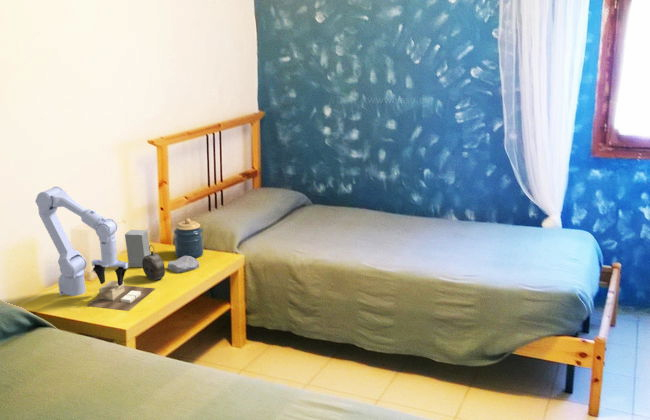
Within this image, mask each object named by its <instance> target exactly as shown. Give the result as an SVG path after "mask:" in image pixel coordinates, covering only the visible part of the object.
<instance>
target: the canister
mask: <svg viewBox="0 0 650 420" xmlns="http://www.w3.org/2000/svg"><path fill="white" fill-rule="evenodd" d="M202 232H203V228H201V224H200V223H198V222H197V221H194V220H191V219H190V218H189V217H188V218H186V219H184V221H183V220H182V221H181V222H178V223H177V224H176V225H175V229H174V230H173V233H174V234H175V235H174V238H173V239H174V249H175V250H174V254H175V257H176V258H177V259H179V258H181V257H183V256H191V257H193V258H195V259H197V258H200V257H202V256H203V255H204V245H203V244H204V242H203V235H202Z"/></svg>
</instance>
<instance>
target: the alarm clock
mask: <svg viewBox="0 0 650 420" xmlns="http://www.w3.org/2000/svg"><path fill="white" fill-rule="evenodd" d="M151 247H152V249H153V250H151V249H150V248H151ZM149 250H150V255H147V256H145V257H144V258H143V261H142V267H141V268H142V270H143V272H144V275H145V276H146V278H148V279H149V280H151V281H157V280H159V281H161V280H162V279H163V277H164V276H165V275H166V274H165V273H166V267H165V263H164V261H163V259H162V257H161V256H160V255H159V254H158V253H155V247H154V245H152V244H149Z"/></svg>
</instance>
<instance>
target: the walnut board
mask: <svg viewBox="0 0 650 420" xmlns="http://www.w3.org/2000/svg"><path fill="white" fill-rule="evenodd" d="M124 290H125V292H124V293H123V294H122V295H121V296H119V297H118V298H117V299H115V300H114V301H106V300H100V295H99V296H98V297H96V298H95V299H93V300H92V301H90V302H88V303H87V305H85V307H92V308H99V309H108V310H118V311H127V312H129V311H131V309H134V307H136V306H137V305H138V304H139V303H140V302H142V301H143V300H144V299H145V298H146V297H148V296H149V295H150V294H151V293H152V292H153V291H155V290H156V288H153V287H146V286H145V287H144V286H135V285H127V284H126V285H125V284H124ZM130 291H141V295H140V296H138V297H137V298H135V300H133V301H132V302H131V303H126V302H121V298H123V297H124V296H125V295H127V294H128V293H129V292H130Z"/></svg>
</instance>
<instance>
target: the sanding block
mask: <svg viewBox="0 0 650 420" xmlns="http://www.w3.org/2000/svg"><path fill="white" fill-rule="evenodd" d="M124 285H125V282H124V281H123V284H122V285H121V286H118V280H110V281H108V282H106V284H105V283H104V284H103V285H102V286H101V287H100V288H99V289H98V293H99V296H100V300H106V301H114V300H115V299H117V298H118V297H119V296H121V295H122V294H123V293H124V292H125V290H124Z"/></svg>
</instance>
